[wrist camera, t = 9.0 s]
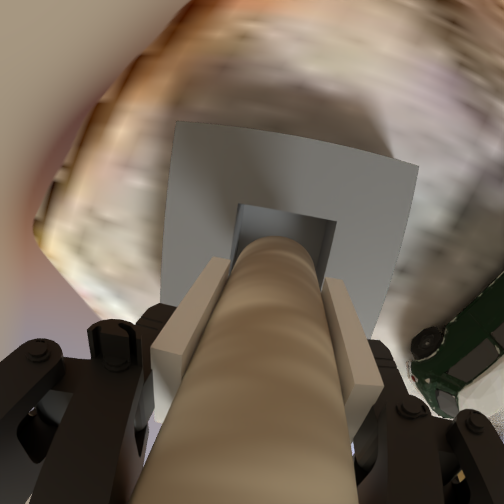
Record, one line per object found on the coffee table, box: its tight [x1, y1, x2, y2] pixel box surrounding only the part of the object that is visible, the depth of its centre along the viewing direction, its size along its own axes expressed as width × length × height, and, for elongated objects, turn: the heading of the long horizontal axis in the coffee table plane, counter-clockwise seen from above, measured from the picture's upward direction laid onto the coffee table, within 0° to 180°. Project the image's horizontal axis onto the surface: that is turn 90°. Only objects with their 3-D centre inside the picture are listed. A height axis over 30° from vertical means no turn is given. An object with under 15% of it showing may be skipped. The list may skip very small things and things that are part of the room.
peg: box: [128, 236, 359, 504], centre depth 9 cm, size 4×4×14 cm
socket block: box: [160, 121, 419, 339], centre depth 20 cm, size 14×14×4 cm
